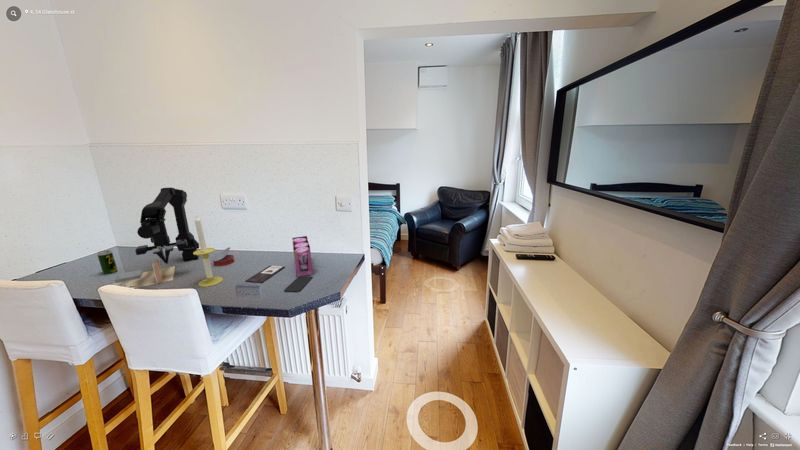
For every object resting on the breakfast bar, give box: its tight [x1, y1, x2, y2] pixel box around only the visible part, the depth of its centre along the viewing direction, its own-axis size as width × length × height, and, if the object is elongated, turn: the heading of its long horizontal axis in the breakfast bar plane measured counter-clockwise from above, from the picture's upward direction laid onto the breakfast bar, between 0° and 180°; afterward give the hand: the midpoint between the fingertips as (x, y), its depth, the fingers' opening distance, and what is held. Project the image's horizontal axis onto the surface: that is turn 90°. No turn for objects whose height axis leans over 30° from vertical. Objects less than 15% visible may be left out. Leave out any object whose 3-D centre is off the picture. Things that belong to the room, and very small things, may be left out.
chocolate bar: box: [244, 265, 286, 284], centre depth 141 cm, size 9×1×18 cm
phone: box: [283, 275, 314, 293], centre depth 130 cm, size 7×1×15 cm
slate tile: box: [114, 269, 144, 284], centre depth 140 cm, size 2×8×9 cm
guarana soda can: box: [96, 249, 119, 276], centre depth 145 cm, size 5×5×12 cm
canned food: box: [212, 246, 235, 267], centre depth 157 cm, size 11×10×10 cm
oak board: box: [112, 266, 176, 289], centre depth 139 cm, size 23×21×1 cm
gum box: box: [292, 235, 314, 278], centre depth 146 cm, size 24×8×14 cm, turn 21°
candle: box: [193, 214, 224, 288], centre depth 130 cm, size 10×10×32 cm
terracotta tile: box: [151, 258, 163, 284], centre depth 137 cm, size 2×8×9 cm, turn 34°
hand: (166, 263), depth 138 cm, fingers closed
